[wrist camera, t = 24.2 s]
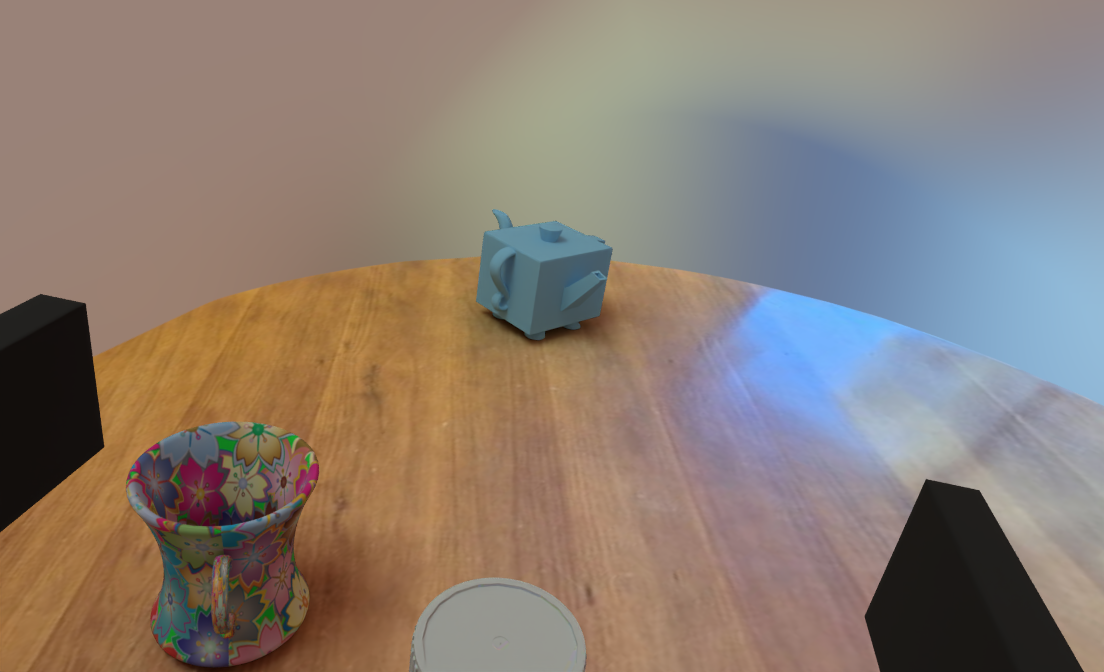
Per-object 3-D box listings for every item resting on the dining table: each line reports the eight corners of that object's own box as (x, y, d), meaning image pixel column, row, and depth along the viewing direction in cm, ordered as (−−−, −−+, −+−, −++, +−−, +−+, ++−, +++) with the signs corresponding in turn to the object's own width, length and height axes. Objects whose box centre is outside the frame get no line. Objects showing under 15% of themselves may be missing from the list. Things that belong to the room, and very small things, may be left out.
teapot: (536, 368, 78) (552, 263, 73) (432, 298, 89) (440, 204, 84) (638, 335, 88) (659, 242, 83) (534, 277, 99) (547, 191, 94)
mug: (155, 568, 48) (140, 424, 43) (313, 553, 51) (315, 417, 46) (122, 745, 38) (98, 582, 33) (322, 713, 41) (325, 560, 36)
